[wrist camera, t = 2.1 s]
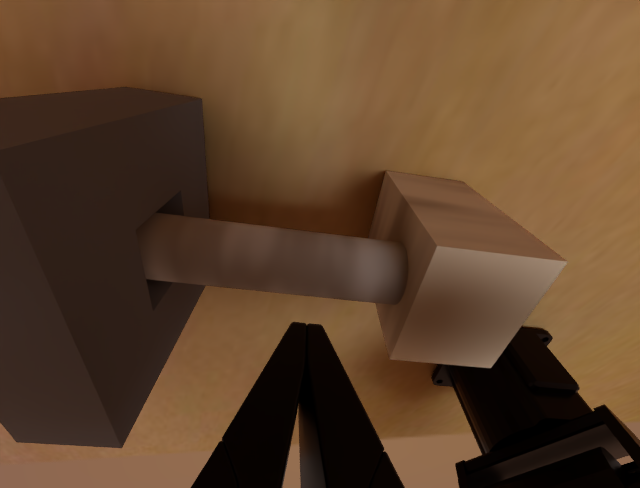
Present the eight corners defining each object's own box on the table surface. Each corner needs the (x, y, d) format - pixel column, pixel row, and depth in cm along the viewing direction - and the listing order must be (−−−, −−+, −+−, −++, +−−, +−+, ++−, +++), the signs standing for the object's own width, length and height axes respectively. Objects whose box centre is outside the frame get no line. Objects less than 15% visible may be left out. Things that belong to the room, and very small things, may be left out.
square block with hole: (212, 271, 16) (121, 448, 9) (158, 265, 16) (16, 442, 9) (201, 98, 12) (-10, 152, 4) (126, 86, 12) (-248, 120, 4)
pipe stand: (398, 337, 20) (432, 449, 14) (-179, 283, 17) (-440, 396, 11) (463, 181, 14) (567, 262, 8) (-397, 58, 11) (-1189, 46, 5)
